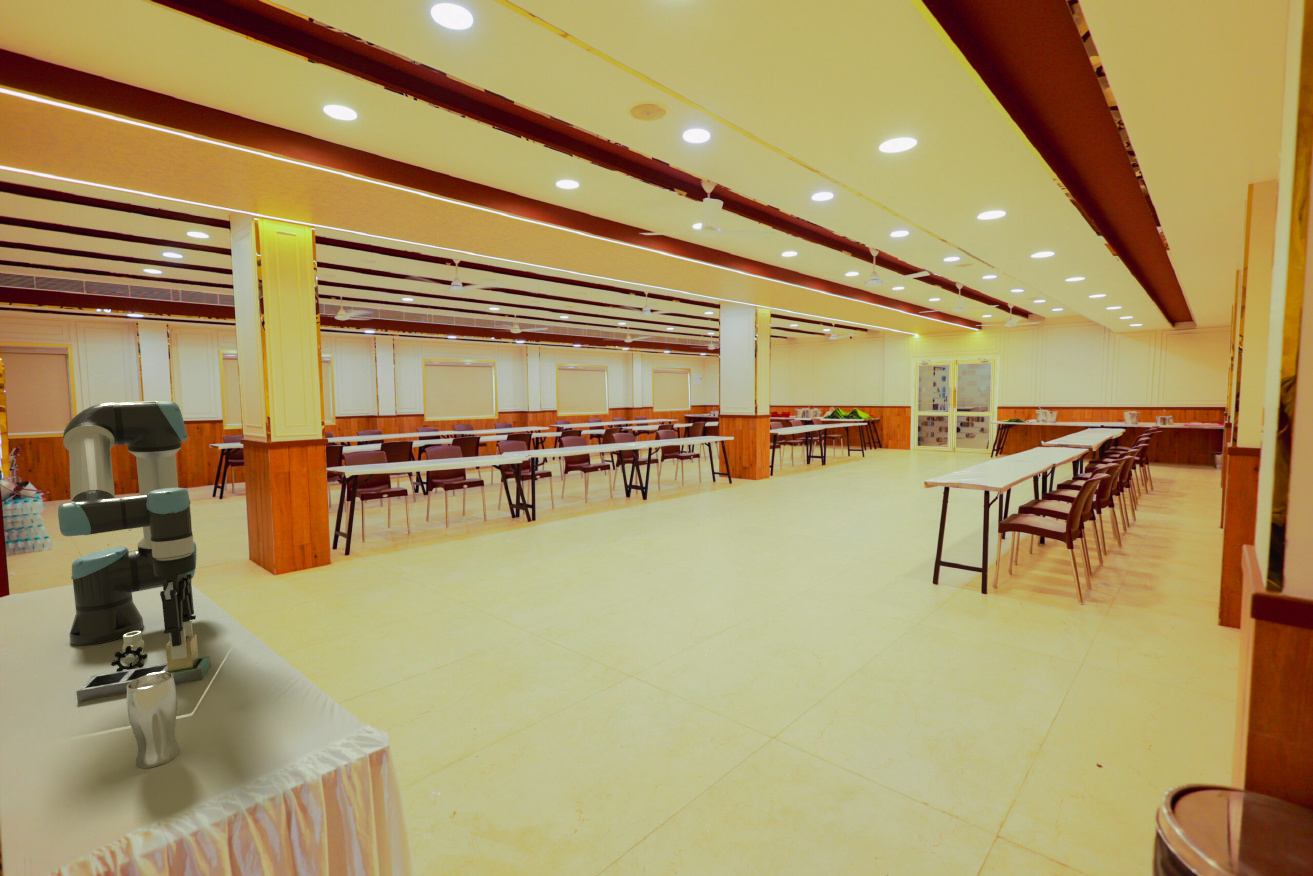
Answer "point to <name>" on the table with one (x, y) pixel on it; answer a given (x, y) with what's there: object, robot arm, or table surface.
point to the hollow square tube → (187, 662)
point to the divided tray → (119, 680)
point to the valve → (131, 651)
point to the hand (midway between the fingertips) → (183, 653)
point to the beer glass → (153, 718)
